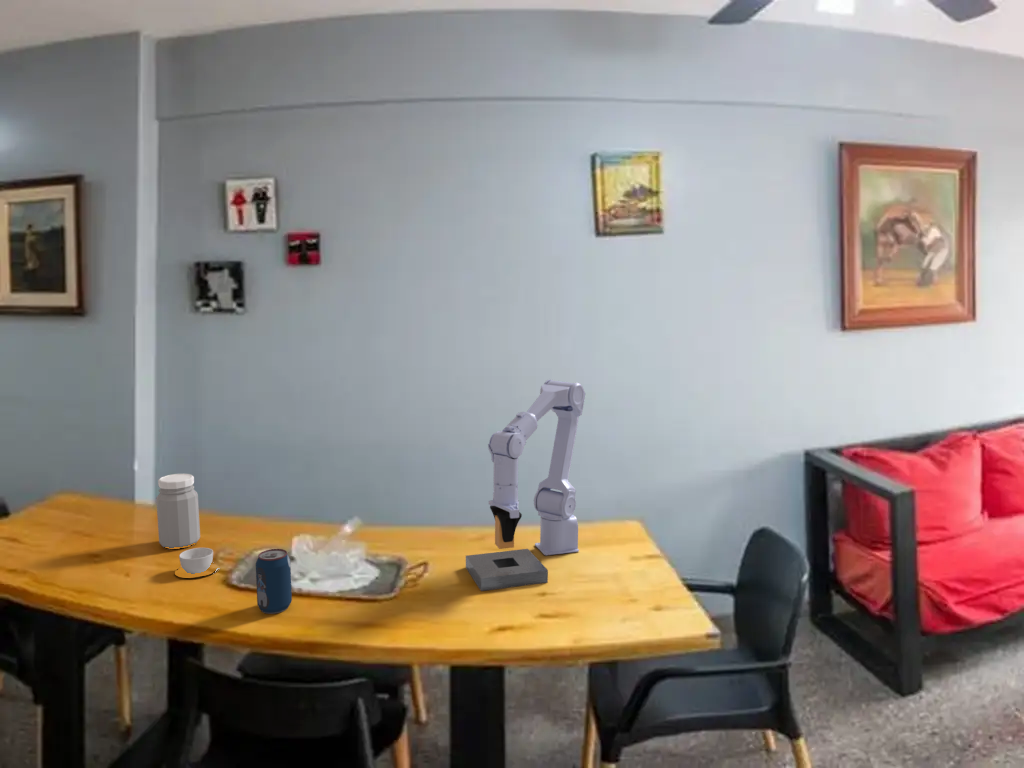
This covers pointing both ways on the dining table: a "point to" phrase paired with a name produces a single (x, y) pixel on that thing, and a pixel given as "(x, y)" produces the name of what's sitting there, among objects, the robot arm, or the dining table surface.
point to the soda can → (273, 581)
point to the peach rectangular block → (499, 538)
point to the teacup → (196, 560)
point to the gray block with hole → (506, 569)
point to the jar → (177, 511)
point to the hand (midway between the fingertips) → (505, 538)
